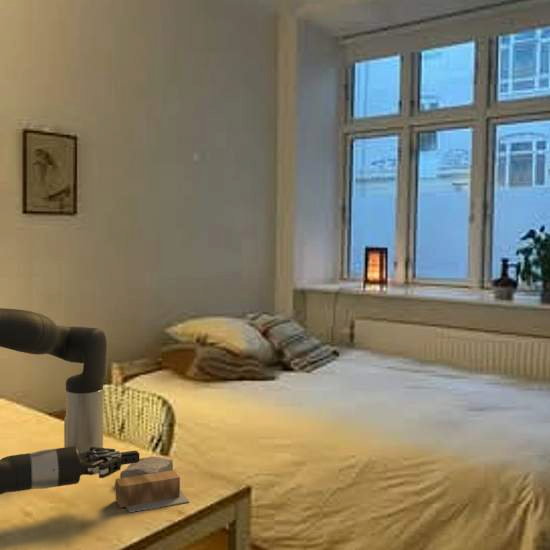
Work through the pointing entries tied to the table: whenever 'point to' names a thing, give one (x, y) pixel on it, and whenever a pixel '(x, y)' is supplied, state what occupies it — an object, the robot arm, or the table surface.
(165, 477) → the walnut block
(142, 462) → the stone block
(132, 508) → the felt pad
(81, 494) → the table surface
